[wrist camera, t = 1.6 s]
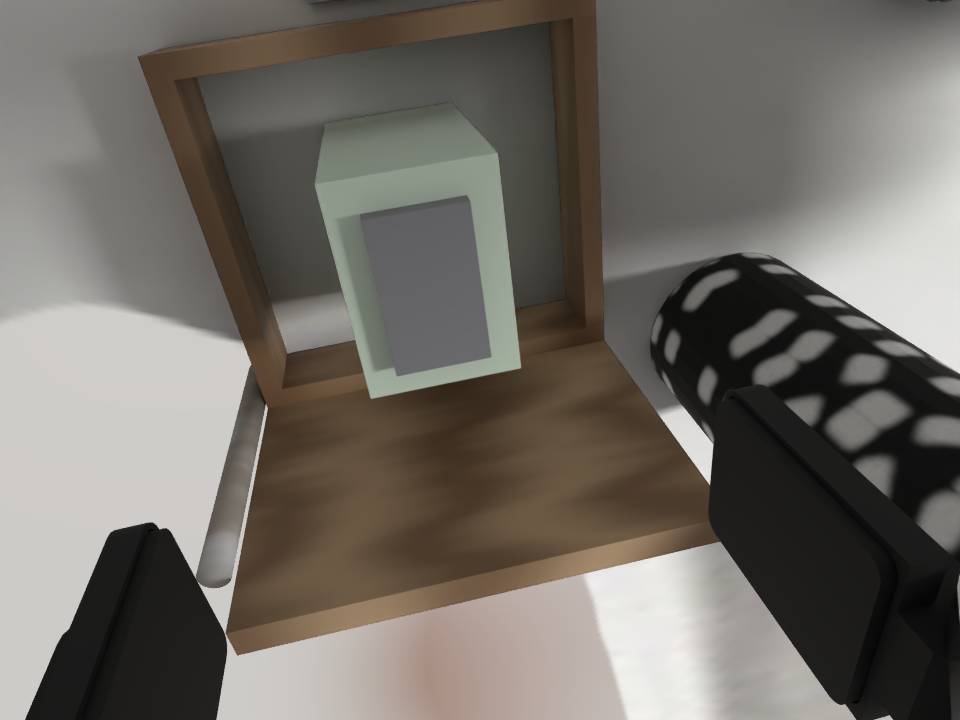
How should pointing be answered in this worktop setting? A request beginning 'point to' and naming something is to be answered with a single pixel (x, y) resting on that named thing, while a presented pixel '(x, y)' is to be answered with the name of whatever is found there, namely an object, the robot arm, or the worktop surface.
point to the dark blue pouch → (939, 0)
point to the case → (426, 395)
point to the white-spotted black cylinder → (819, 378)
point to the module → (419, 246)
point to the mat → (315, 0)
